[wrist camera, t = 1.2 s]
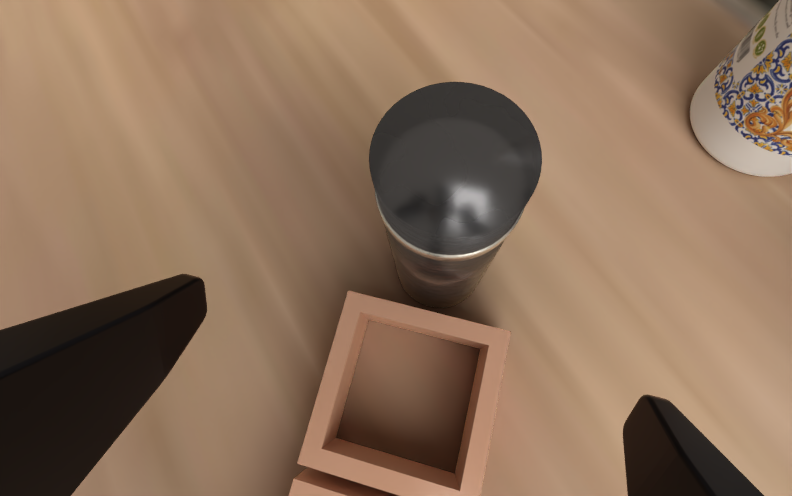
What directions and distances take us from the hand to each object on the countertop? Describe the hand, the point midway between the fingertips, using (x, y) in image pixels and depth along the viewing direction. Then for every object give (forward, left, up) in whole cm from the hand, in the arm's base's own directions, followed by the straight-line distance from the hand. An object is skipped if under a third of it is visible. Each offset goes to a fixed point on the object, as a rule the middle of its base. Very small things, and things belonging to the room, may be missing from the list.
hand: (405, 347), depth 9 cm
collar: (-1, -1, -13) cm, 13 cm away
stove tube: (+5, +2, -13) cm, 14 cm away
